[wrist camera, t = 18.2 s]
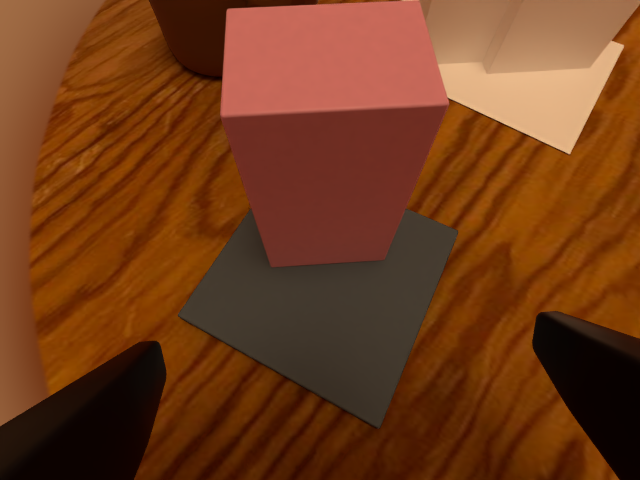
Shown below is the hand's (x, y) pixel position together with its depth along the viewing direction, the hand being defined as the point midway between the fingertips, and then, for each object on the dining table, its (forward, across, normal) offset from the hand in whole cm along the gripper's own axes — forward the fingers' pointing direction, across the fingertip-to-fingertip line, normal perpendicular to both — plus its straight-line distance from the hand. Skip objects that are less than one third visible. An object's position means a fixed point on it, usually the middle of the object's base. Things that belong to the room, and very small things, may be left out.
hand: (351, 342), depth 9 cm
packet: (+10, 0, 0) cm, 10 cm away
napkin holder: (+20, -12, -8) cm, 25 cm away
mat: (+9, 0, +2) cm, 9 cm away
